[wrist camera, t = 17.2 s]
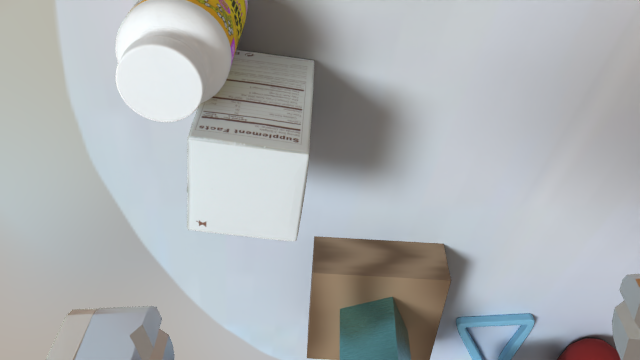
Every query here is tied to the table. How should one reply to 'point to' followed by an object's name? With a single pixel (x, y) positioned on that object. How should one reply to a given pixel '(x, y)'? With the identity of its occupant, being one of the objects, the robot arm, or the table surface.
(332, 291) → the walnut block
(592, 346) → the tomato
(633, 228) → the table surface
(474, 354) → the chair
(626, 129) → the table surface
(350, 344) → the spice tin
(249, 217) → the supplement box
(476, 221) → the table surface
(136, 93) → the supplement bottle
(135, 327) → the robot arm
